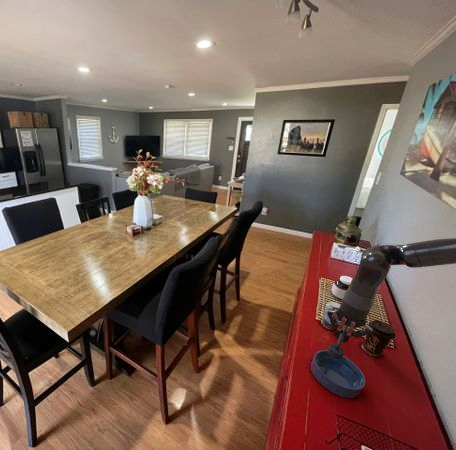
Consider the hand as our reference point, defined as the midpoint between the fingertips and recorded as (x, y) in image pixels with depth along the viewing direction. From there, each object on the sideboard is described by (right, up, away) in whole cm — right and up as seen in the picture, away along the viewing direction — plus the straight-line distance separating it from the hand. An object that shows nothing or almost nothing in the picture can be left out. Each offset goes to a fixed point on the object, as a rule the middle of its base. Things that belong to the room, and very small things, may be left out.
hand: (340, 339), depth 88 cm
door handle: (0, -3, +2) cm, 3 cm away
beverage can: (+12, -5, +24) cm, 27 cm away
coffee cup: (+22, -10, +12) cm, 27 cm away
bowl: (-2, -14, 0) cm, 14 cm away
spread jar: (+35, +3, +45) cm, 57 cm away
